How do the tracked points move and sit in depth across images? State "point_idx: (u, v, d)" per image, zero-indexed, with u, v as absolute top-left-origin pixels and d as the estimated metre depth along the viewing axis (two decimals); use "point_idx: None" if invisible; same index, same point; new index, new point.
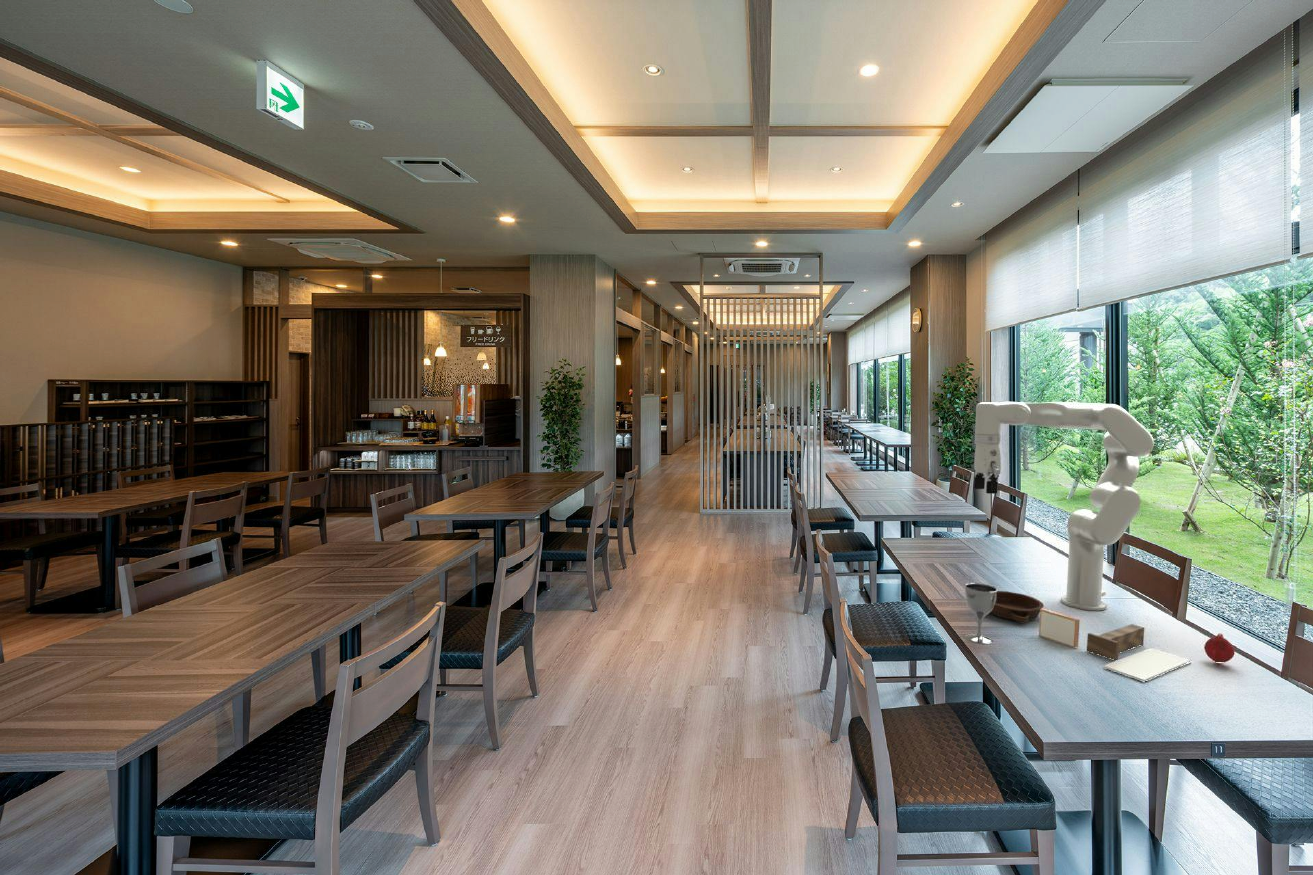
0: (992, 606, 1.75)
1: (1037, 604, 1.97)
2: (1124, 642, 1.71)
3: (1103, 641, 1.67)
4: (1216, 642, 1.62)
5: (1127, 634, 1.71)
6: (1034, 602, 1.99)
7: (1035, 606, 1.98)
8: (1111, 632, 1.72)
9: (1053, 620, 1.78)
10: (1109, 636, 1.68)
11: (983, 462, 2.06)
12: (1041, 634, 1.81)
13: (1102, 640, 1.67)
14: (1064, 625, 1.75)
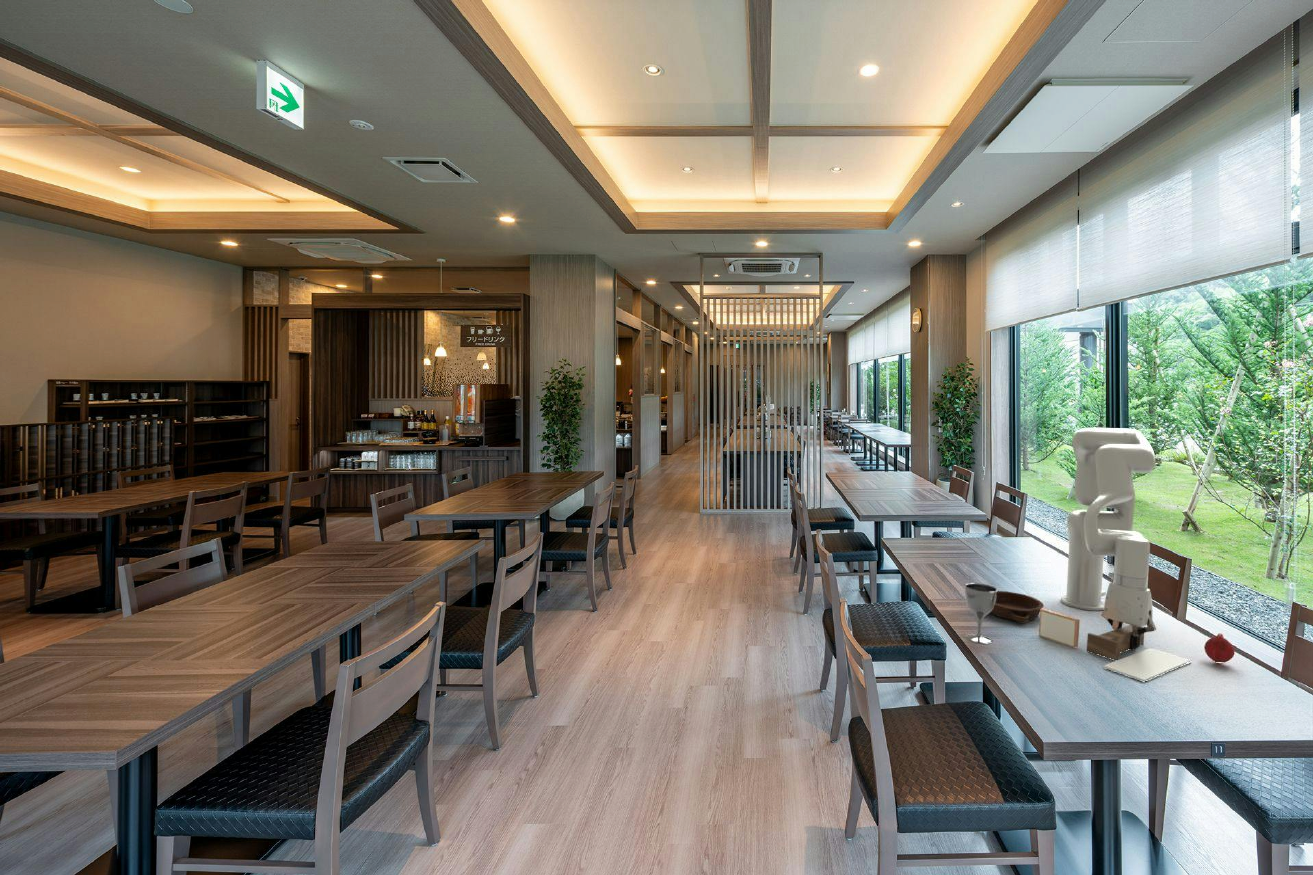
0: (992, 606, 1.75)
1: (1037, 604, 1.97)
2: (1124, 642, 1.70)
3: (1103, 641, 1.67)
4: (1216, 642, 1.62)
5: (1127, 634, 1.71)
6: (1034, 602, 1.99)
7: (1035, 606, 1.98)
8: (1111, 632, 1.72)
9: (1053, 620, 1.78)
10: (1109, 636, 1.68)
11: None
12: (1041, 634, 1.81)
13: (1102, 640, 1.67)
14: (1064, 625, 1.75)
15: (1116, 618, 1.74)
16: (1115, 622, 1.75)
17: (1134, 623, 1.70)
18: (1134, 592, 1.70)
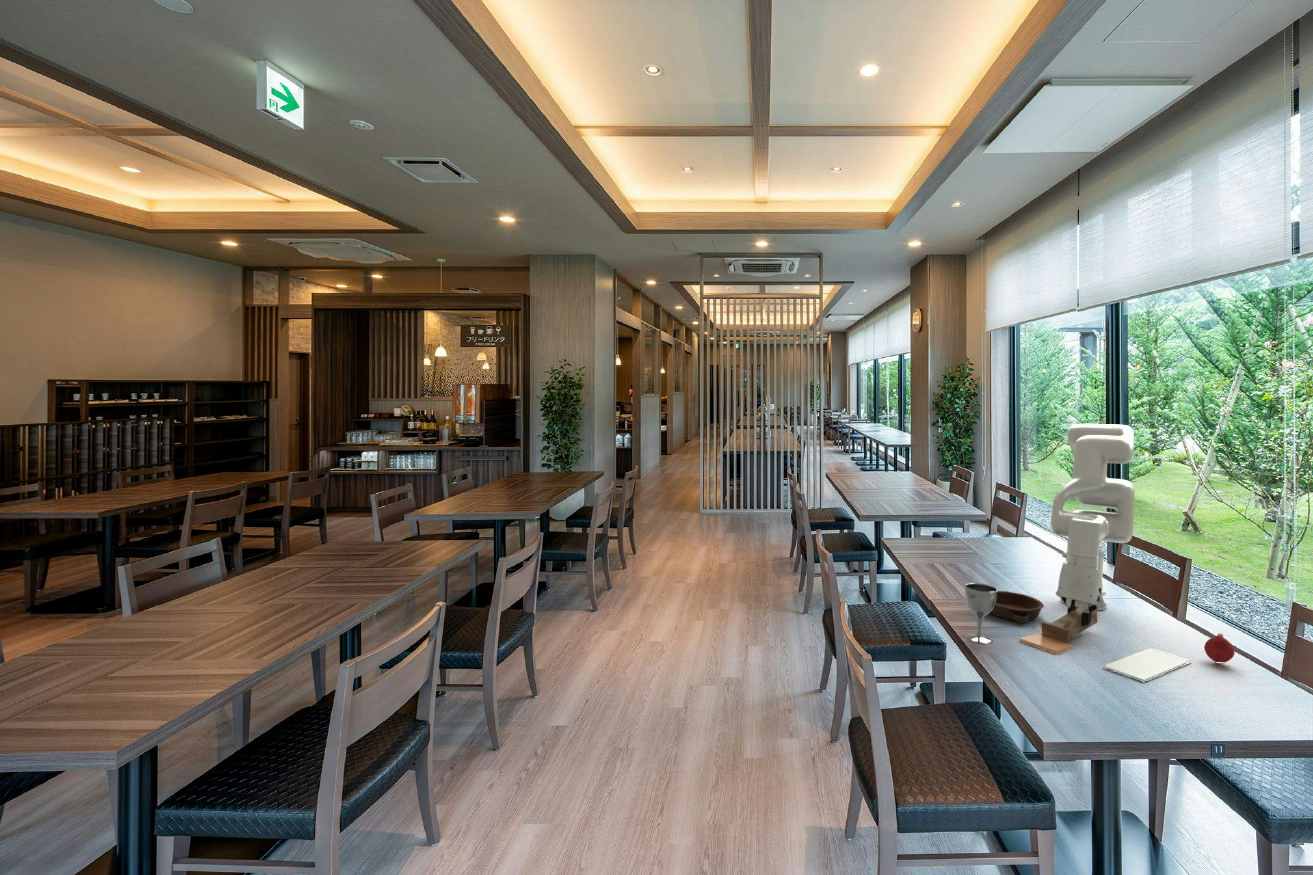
0: (992, 606, 1.75)
1: (1037, 604, 1.97)
2: (1077, 625, 1.79)
3: (1055, 629, 1.76)
4: (1216, 642, 1.62)
5: (1079, 617, 1.79)
6: (1034, 602, 1.99)
7: (1035, 606, 1.98)
8: (1064, 617, 1.80)
9: None
10: (1061, 623, 1.77)
11: None
12: None
13: (1054, 628, 1.76)
14: None
15: (1069, 596, 1.82)
16: (1068, 600, 1.83)
17: (1085, 600, 1.78)
18: (1085, 570, 1.78)
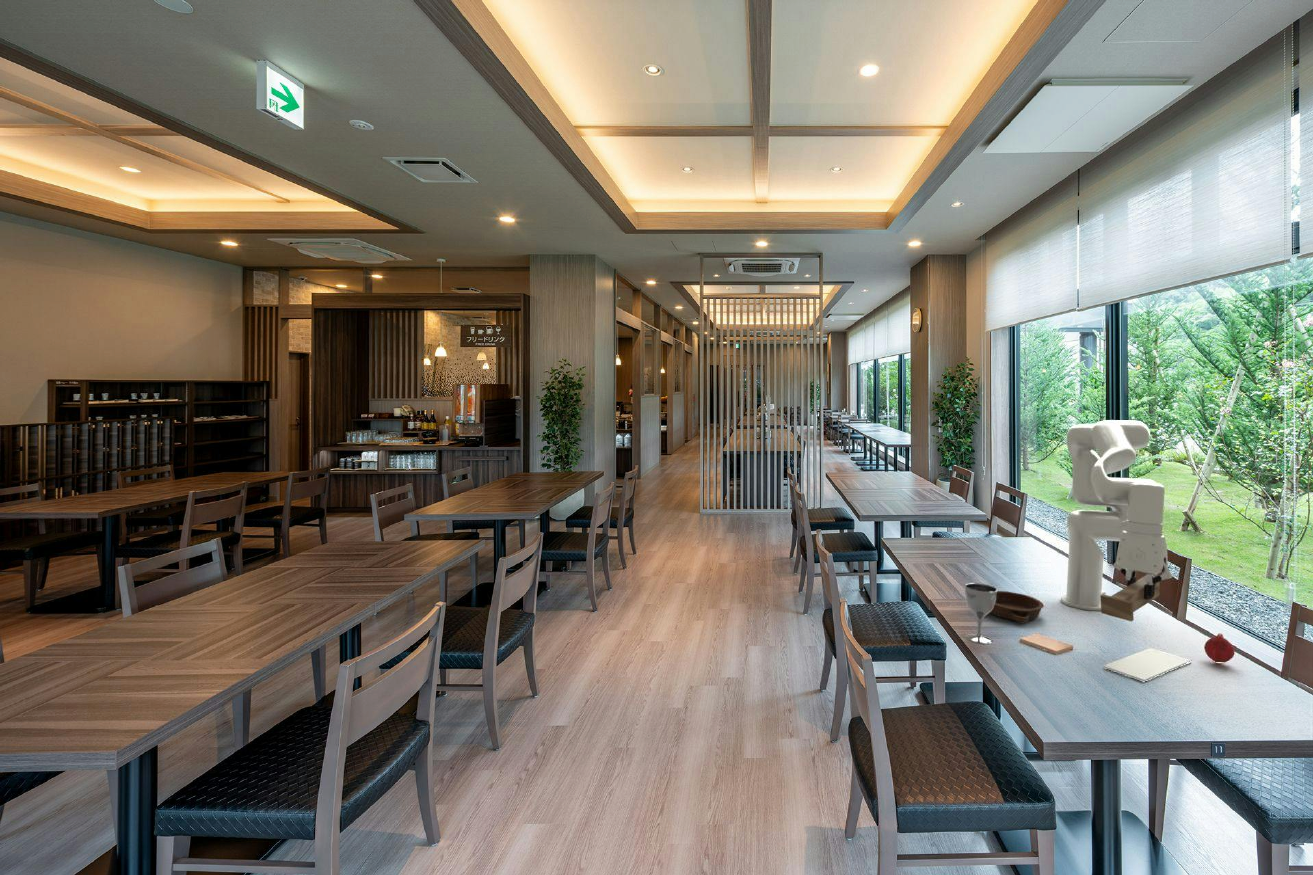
0: (992, 606, 1.75)
1: (1037, 604, 1.97)
2: (1139, 598, 1.65)
3: (1117, 602, 1.62)
4: (1216, 642, 1.62)
5: (1141, 589, 1.65)
6: (1034, 602, 1.99)
7: (1035, 606, 1.98)
8: (1125, 590, 1.66)
9: None
10: (1123, 596, 1.63)
11: None
12: None
13: (1116, 601, 1.62)
14: None
15: (1129, 567, 1.68)
16: (1128, 572, 1.69)
17: (1148, 571, 1.64)
18: (1148, 539, 1.64)
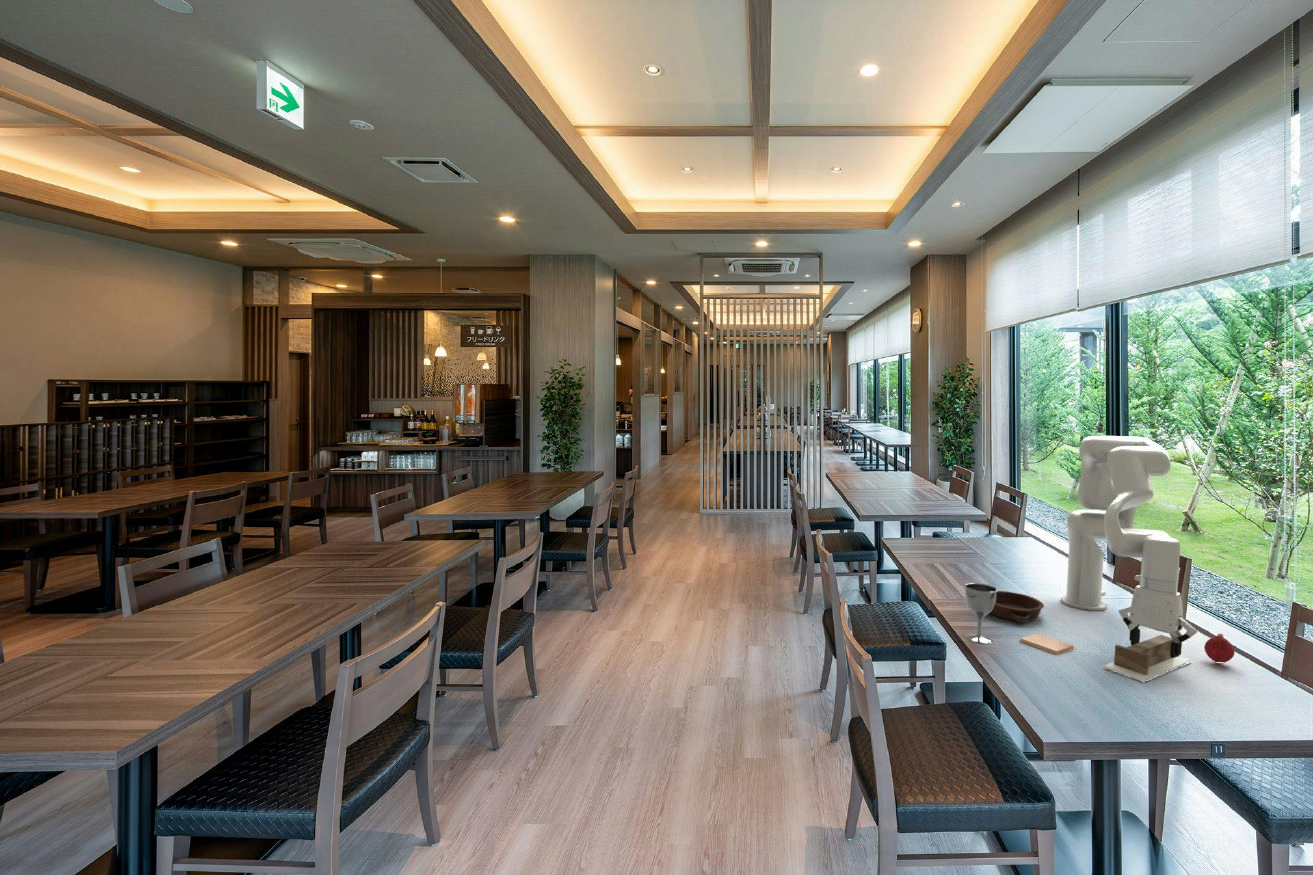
0: (992, 606, 1.75)
1: (1037, 604, 1.97)
2: (1154, 654, 1.60)
3: (1132, 654, 1.57)
4: (1216, 642, 1.62)
5: (1157, 646, 1.61)
6: (1034, 602, 1.99)
7: (1035, 606, 1.98)
8: (1140, 644, 1.61)
9: None
10: (1139, 648, 1.58)
11: None
12: None
13: (1131, 652, 1.57)
14: None
15: (1143, 623, 1.63)
16: None
17: (1163, 629, 1.59)
18: (1163, 596, 1.59)
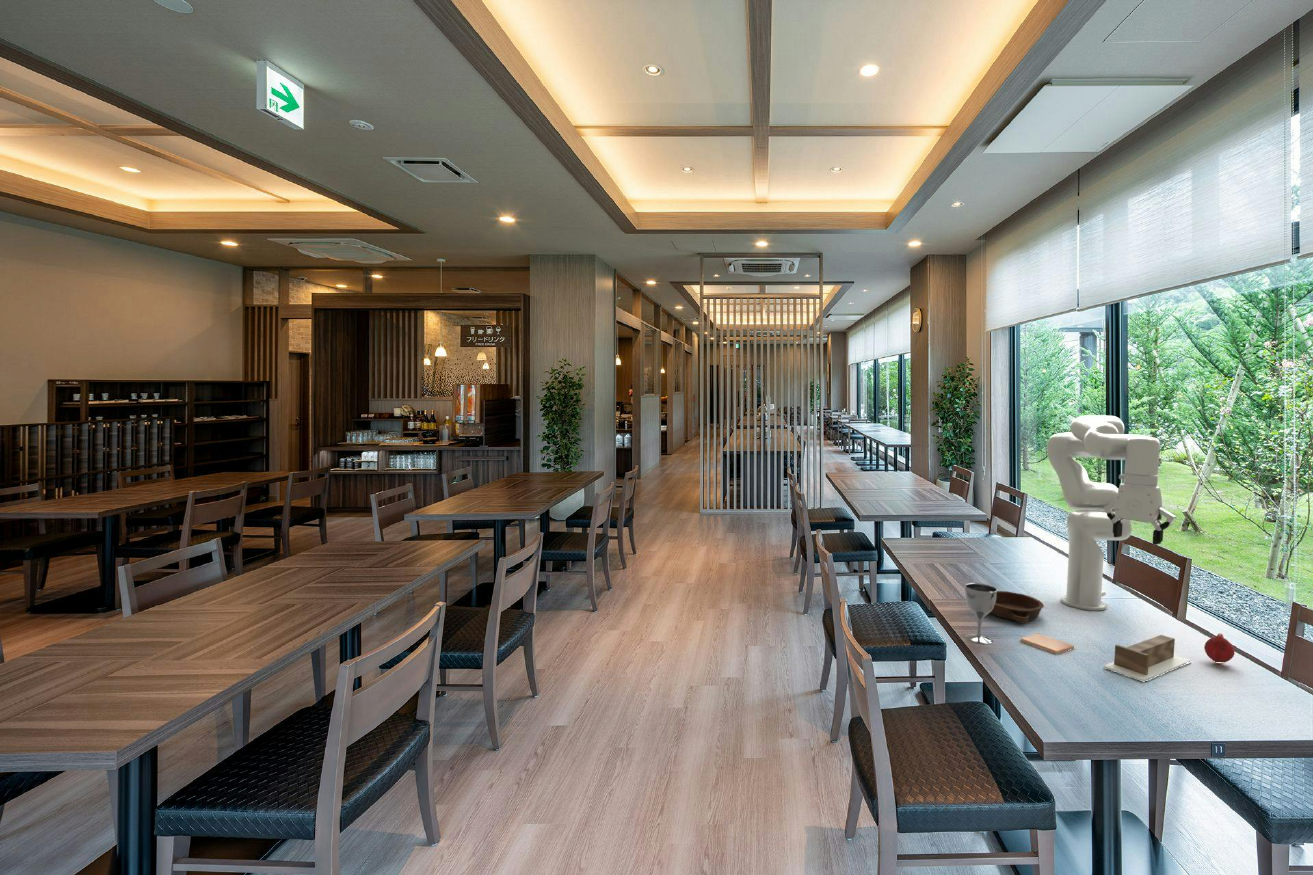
0: (992, 606, 1.75)
1: (1037, 604, 1.97)
2: (1154, 654, 1.60)
3: (1132, 654, 1.57)
4: (1216, 642, 1.62)
5: (1157, 646, 1.61)
6: (1034, 602, 1.99)
7: (1035, 606, 1.98)
8: (1140, 644, 1.61)
9: None
10: (1139, 648, 1.58)
11: None
12: None
13: (1131, 652, 1.57)
14: None
15: (1126, 516, 1.79)
16: (1117, 517, 1.82)
17: (1144, 519, 1.75)
18: (1144, 489, 1.75)
